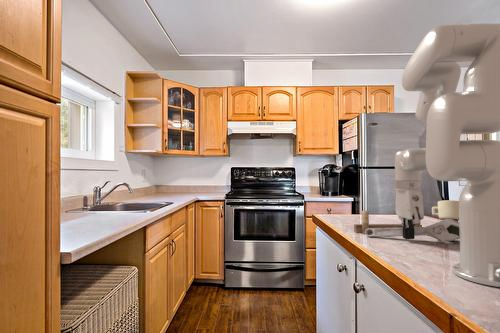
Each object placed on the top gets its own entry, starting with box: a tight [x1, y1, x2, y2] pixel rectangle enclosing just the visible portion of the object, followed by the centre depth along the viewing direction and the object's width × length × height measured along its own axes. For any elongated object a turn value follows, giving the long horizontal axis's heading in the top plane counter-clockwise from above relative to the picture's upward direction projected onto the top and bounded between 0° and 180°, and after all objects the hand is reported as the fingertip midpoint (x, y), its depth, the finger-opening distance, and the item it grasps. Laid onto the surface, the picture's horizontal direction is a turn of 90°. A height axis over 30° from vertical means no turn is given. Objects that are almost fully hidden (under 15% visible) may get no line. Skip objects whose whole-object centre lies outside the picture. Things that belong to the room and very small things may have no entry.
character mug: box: [431, 199, 460, 240], centre depth 96 cm, size 11×7×13 cm, turn 54°
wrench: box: [364, 219, 459, 244], centre depth 97 cm, size 8×2×30 cm
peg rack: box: [353, 210, 423, 236], centre depth 109 cm, size 5×26×9 cm, turn 89°
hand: (408, 238), depth 95 cm, fingers closed
